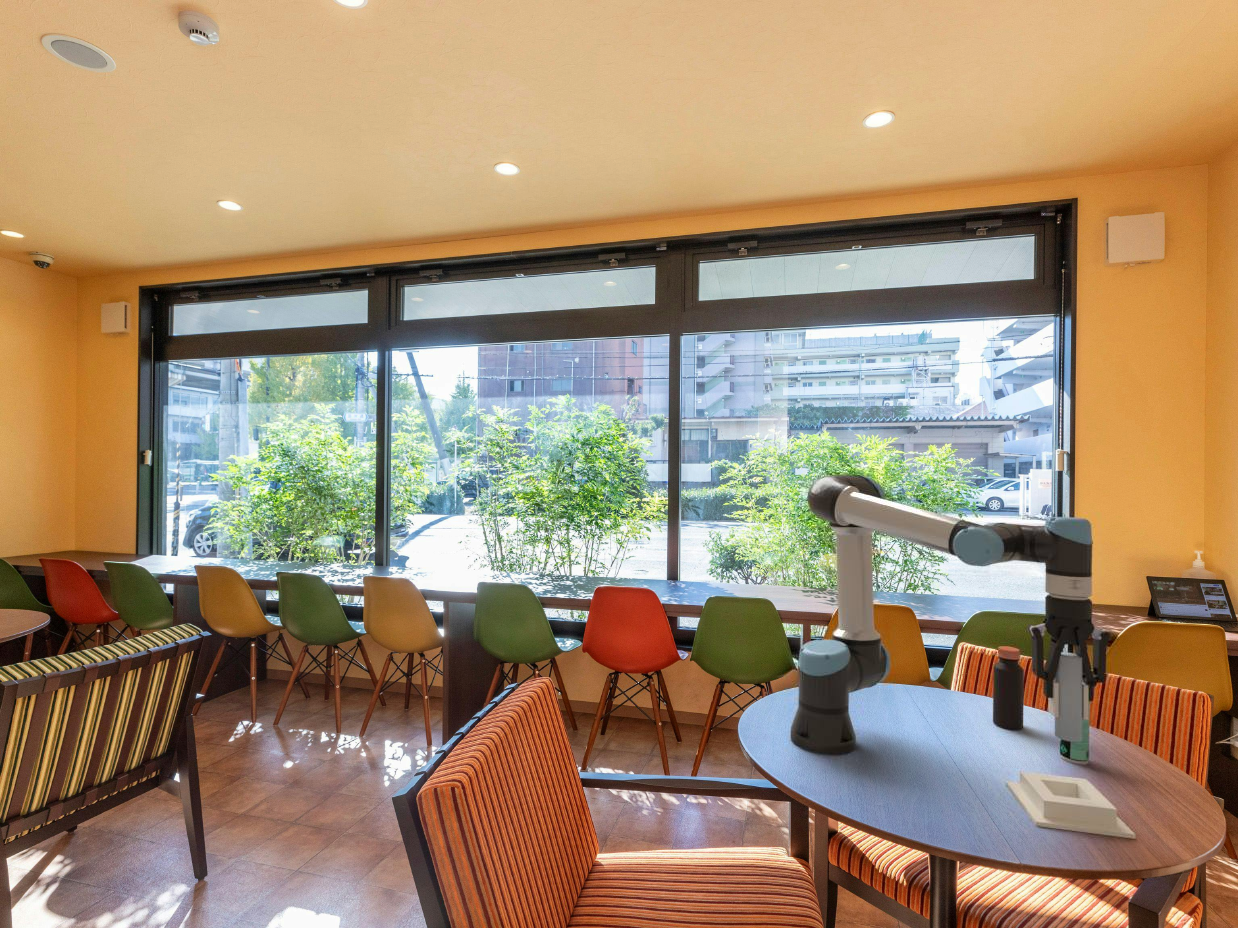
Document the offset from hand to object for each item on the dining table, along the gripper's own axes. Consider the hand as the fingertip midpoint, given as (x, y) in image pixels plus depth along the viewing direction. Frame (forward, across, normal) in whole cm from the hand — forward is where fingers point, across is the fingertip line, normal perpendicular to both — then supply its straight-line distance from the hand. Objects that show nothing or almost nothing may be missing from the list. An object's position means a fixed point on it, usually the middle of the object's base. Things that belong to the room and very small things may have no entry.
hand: (1068, 715), depth 125 cm
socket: (+19, 0, 0) cm, 19 cm away
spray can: (+19, +12, +26) cm, 34 cm away
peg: (+4, 0, 0) cm, 4 cm away
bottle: (+19, +4, +44) cm, 48 cm away
